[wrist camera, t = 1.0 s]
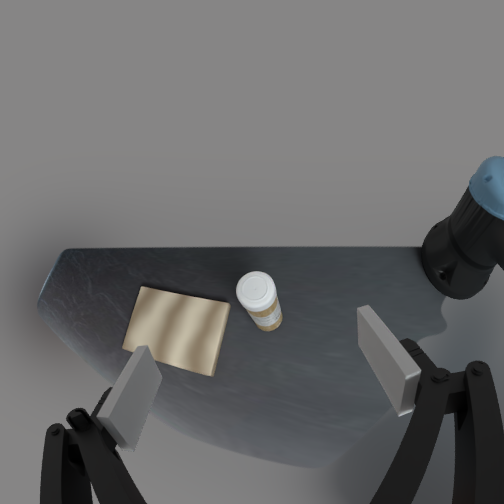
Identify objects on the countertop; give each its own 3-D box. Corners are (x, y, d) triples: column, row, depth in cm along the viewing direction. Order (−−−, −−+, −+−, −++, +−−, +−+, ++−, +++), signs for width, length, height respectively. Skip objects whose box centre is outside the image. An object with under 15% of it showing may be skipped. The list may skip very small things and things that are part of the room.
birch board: (230, 305, 46) (228, 303, 45) (213, 376, 41) (210, 376, 39) (145, 289, 50) (141, 286, 49) (126, 349, 45) (122, 348, 44)
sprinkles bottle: (264, 299, 45) (249, 263, 34) (288, 313, 44) (282, 281, 32) (248, 322, 44) (227, 294, 32) (272, 337, 42) (260, 314, 31)
